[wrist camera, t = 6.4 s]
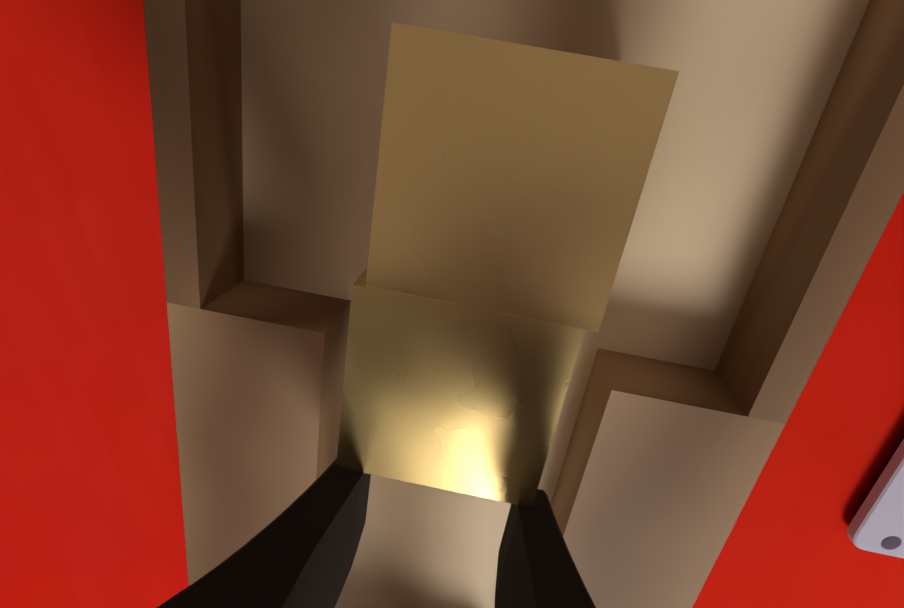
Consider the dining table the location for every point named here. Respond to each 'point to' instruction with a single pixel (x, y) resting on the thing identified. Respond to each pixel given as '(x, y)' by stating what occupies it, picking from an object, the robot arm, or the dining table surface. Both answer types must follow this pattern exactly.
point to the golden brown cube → (510, 173)
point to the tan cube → (451, 393)
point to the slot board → (601, 353)
